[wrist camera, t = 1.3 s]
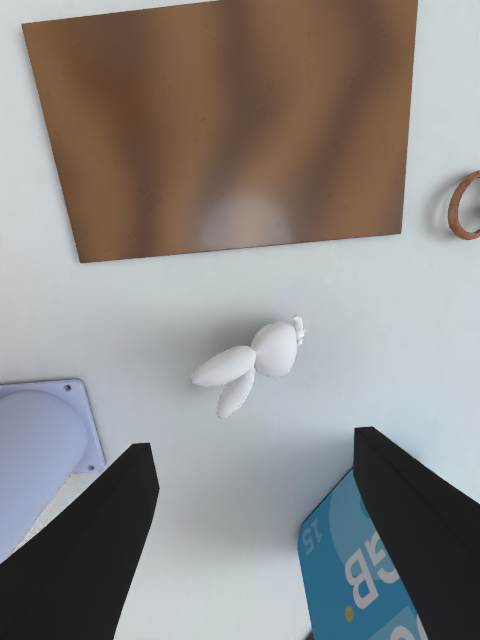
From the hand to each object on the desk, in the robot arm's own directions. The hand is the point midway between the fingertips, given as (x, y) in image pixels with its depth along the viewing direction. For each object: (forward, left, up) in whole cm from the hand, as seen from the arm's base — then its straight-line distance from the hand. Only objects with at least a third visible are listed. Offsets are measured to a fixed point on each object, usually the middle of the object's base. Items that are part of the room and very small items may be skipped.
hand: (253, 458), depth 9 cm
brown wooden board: (0, +13, -10) cm, 16 cm away
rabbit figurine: (0, 0, -10) cm, 10 cm away
